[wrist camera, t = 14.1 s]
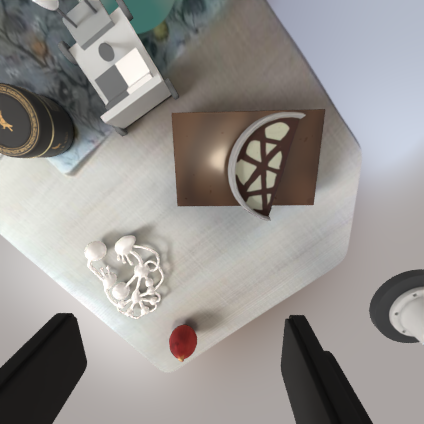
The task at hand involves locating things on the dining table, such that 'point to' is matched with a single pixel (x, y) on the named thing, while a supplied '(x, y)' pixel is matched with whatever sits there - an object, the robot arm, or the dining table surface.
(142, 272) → the tangled rod sculpture
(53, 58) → the dining table surface
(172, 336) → the onion
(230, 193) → the shelf
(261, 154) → the food container
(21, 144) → the jar
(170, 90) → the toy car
